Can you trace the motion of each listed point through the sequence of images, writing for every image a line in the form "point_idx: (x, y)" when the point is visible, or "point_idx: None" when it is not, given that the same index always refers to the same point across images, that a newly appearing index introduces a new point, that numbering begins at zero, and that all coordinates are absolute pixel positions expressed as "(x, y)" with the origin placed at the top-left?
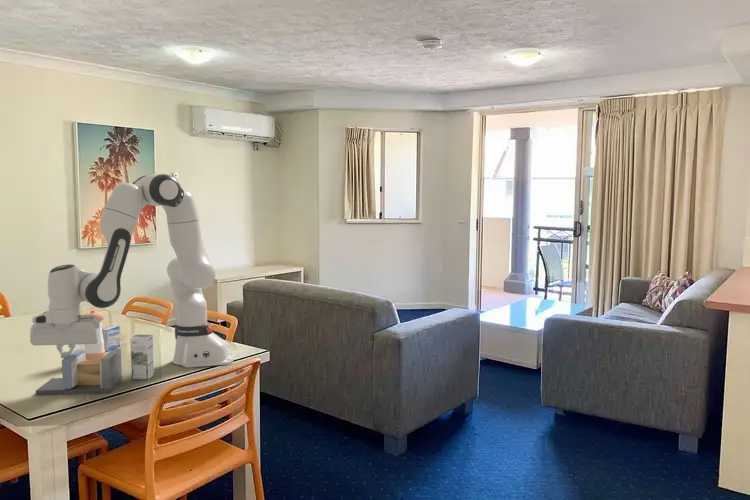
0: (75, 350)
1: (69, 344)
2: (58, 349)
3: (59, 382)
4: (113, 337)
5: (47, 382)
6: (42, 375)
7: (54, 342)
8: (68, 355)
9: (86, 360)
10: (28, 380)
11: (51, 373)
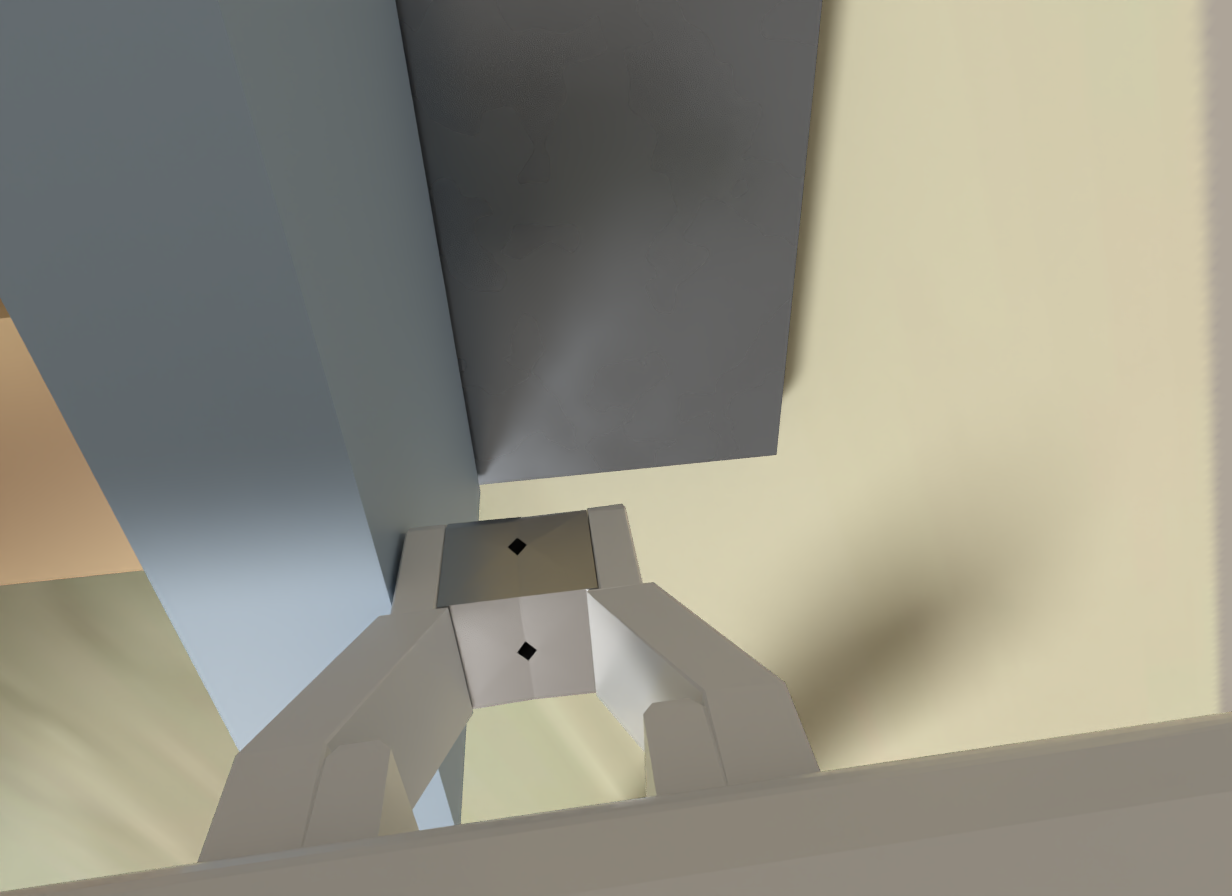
0: (445, 804)
1: (267, 853)
2: (717, 655)
3: (621, 306)
4: None
5: (778, 305)
6: (919, 606)
7: (940, 864)
8: (347, 476)
9: (104, 551)
10: (1017, 484)
11: (855, 652)
